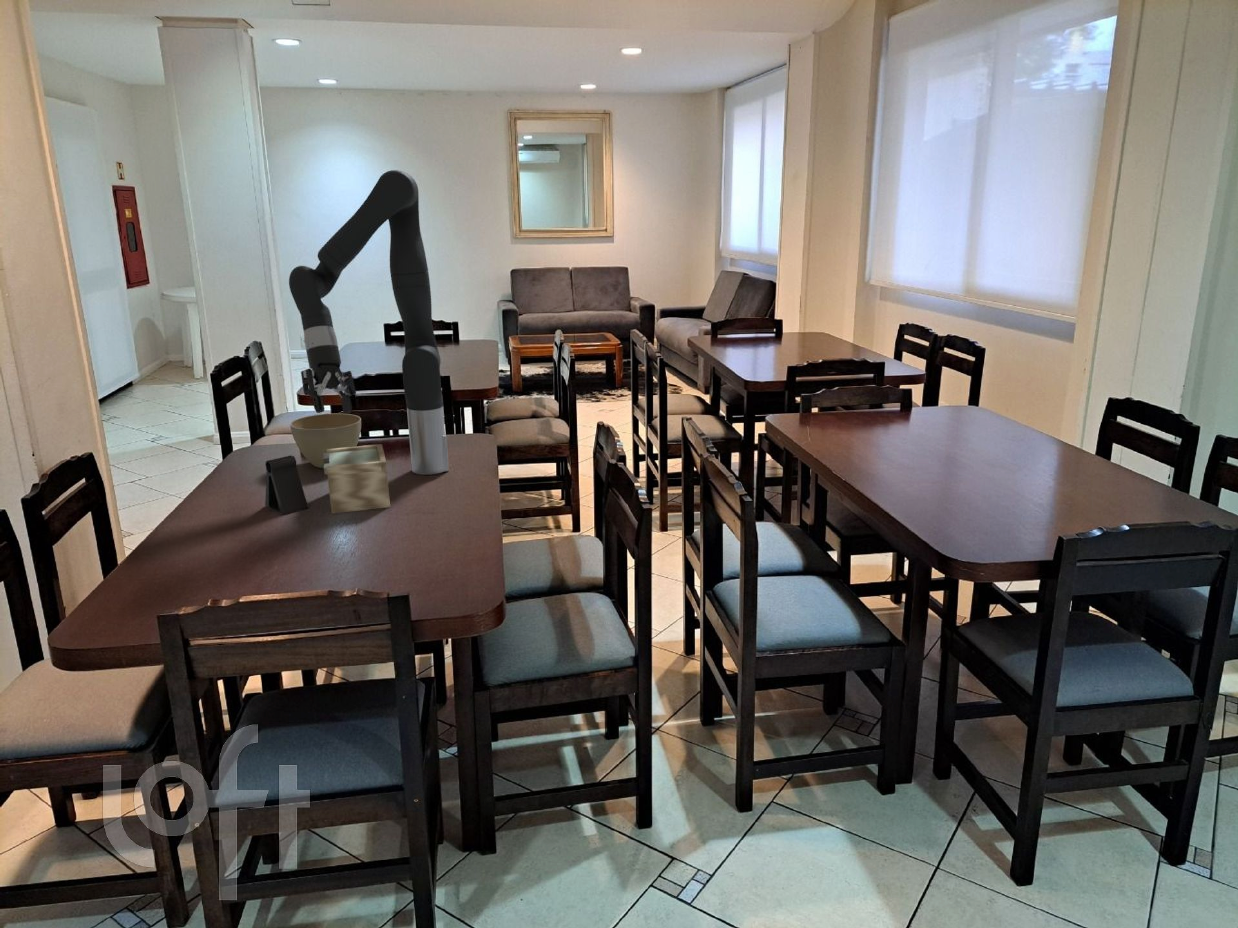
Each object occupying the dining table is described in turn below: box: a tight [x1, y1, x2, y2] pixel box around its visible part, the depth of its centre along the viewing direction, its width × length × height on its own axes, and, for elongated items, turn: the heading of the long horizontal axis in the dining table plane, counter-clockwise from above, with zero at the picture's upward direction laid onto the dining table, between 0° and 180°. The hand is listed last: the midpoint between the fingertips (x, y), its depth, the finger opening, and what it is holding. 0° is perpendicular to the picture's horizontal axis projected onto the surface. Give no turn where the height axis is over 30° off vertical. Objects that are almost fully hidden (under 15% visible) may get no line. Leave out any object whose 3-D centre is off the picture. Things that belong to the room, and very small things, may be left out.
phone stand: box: [264, 454, 309, 516], centre depth 198 cm, size 9×6×12 cm, turn 48°
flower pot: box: [289, 413, 362, 469], centre depth 231 cm, size 18×18×12 cm
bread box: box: [323, 443, 391, 514], centre depth 203 cm, size 14×16×12 cm
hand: (334, 412), depth 208 cm, fingers open, 8 cm apart
